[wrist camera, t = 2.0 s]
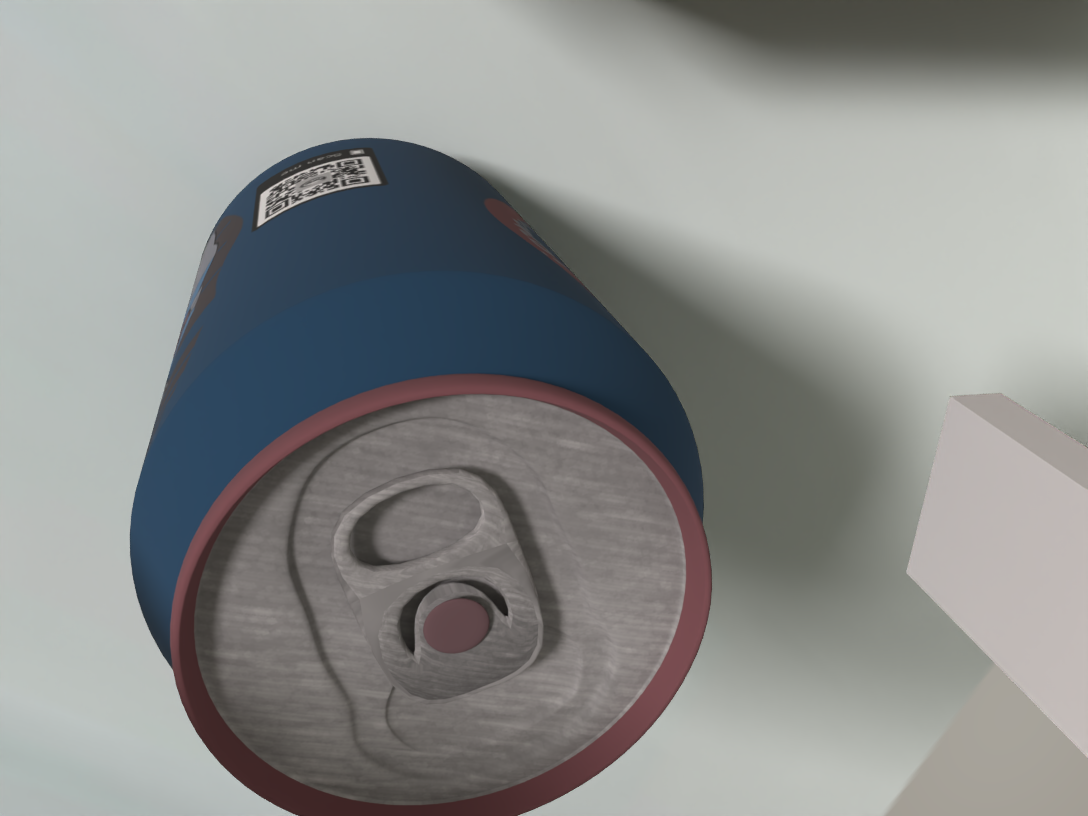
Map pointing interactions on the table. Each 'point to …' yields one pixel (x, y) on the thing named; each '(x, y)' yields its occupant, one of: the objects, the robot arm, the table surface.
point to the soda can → (413, 500)
